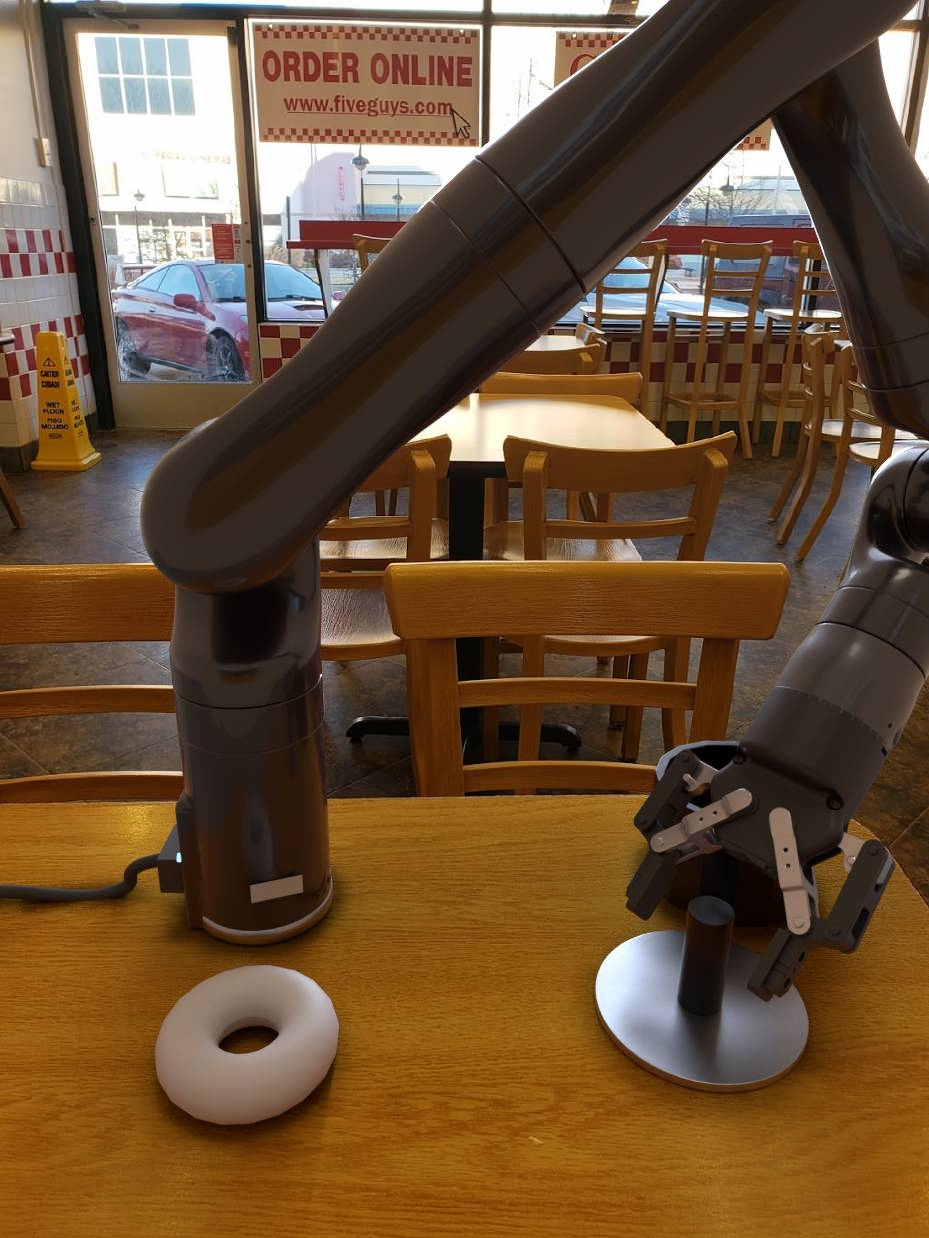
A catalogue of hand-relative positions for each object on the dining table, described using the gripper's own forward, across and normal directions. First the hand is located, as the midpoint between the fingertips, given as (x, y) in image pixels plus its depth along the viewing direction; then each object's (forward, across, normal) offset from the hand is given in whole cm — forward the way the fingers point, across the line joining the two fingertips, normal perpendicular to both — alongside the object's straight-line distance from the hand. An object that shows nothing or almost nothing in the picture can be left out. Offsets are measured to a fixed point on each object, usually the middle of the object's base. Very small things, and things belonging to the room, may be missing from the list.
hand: (693, 953), depth 54 cm
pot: (-6, -7, +13) cm, 16 cm away
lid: (+2, 0, +4) cm, 5 cm away
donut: (+19, -14, -11) cm, 26 cm away
